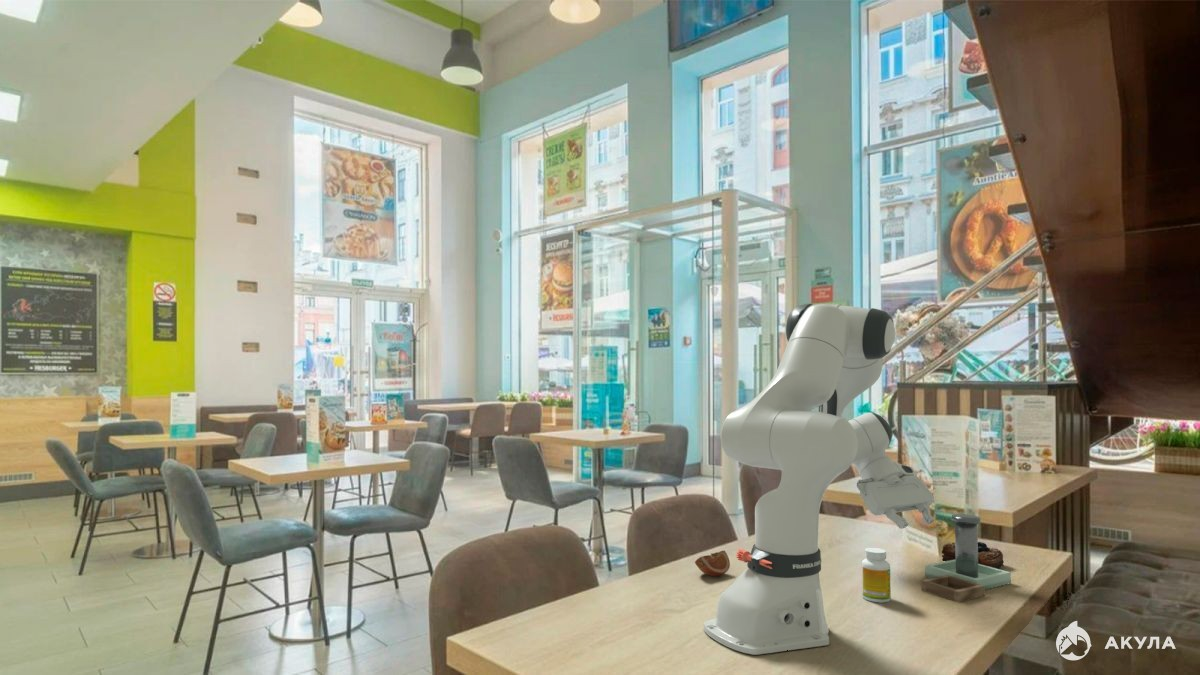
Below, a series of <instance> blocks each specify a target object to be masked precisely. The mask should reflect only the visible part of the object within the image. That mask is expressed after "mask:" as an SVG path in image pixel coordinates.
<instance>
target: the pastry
mask: <svg viewBox="0 0 1200 675" xmlns="http://www.w3.org/2000/svg"><path fill="white" fill-rule="evenodd" d="M1003 555H1004V554H1003V552H1002V551H1001V550H999V549H998V548H996V547H992V548H991V547H989V546H988V545H987V544H986V543H985V542H982V541H978V564H981V565H985V566H989V567H992V568H996V569H998V568H999V569H1000V567H1001V566H1002V565H1003V566H1004V556H1003ZM941 557H942V559H941V560H942V562H943V561H950V560H954V559H956V556H955V541H954V542H948V543H945V544H943V546H942V550H941ZM1003 566H1002V567H1003ZM1002 567H1001V568H1002Z"/></svg>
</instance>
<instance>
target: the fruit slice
mask: <svg viewBox="0 0 1200 675" xmlns="http://www.w3.org/2000/svg"><path fill="white" fill-rule="evenodd" d="M729 558H730V557H729V556H728V554H727V552H726V550H721V551H718V552H717V551H716V552H714V553H710V554H708V555H702V556H699V557H698V558H697V559H696V560H695V561H694V563H695V565H696V567H697V568H698V569H699V570H700V571H701V572H702V573H703V574H705V575H707V576H710V577H721V576H723V575H725V574H726V573H727V572H728V571H729V569H730V566H731V562H730V559H729Z"/></svg>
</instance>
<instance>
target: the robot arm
mask: <svg viewBox="0 0 1200 675" xmlns="http://www.w3.org/2000/svg"><path fill="white" fill-rule="evenodd" d="M785 336H786V340H787V345H786V347H785V350H784V352H783V355H782V357H781V360H780V363H779V364H778V367H777V370H776V371H775V374H774V375H773V377H772V378H771V380H770V381H769V383H768V384H767V385H766V386H765V387H764V389H762V390H761V391H760V393H758V395H756V396H755V397H754V398H753V399H752V400H751V401H749V402H748V403H746V404H745V405H743V407H740V408H739V409H735V410H734V411H732V412H730V413H729V414H728V415H727V417H725V419H724V421H723V423H722V426H721V428H720V436H719V437H720V444H721V447H722V449H723V451H724V453H725V455H726V457H728V458H729V459H731V460H732V461H735V462H737V463H740V464H742V465H743V464H744V465H746V466H750V467H753V468H754V467H755V468H762V469H770V470H778V471H779V470H780V471H781V477H780V482H779V484H778V486H777V487H776V488H774V489H772V490H770V491H767V492H766V493H764V494H763V495H762V496H761V497H760V498H758V501H756V504H755V506H754V544H753V546H752V548H751V551H748V550H745V549H743V548H739V549H737V552H736V558H737V560H738V561H740V562H743V563H747V565H746V566H747V568H745V569H744V571H743V572H742V573H741V574H740V575H739V576H737V578H736V579H735V580H734V581H733V582H732V583H731V584H730V585H729V586H728V587H727V588H726V589H725V590H724V591H723V592H722V593H720V596H719V597H718V598H719V599H718V602H717V608H716V609H717V611H716V617H715V618H711V619H708V620H706V621H704V622H703V630H704V632H705V634H706V635H707V636H709V637H710V638H712V639H713V640H715V641H716V642H717V643H719V644H721V645H722V646H725V647H727V648H730V649H732V650H734V651H737V652H740V653H743V654H747V655H748V654H749V655H753V656H755V655H756V656H757V655H758V656H759V655H763V654H772V653H778V652H779V653H780V652H786V651H787V650H788V651H794V650H800V649H801V650H802V649H808V648H816V647H823V646H824V647H825V646H829V645H830V638H829V632H830V630H829V626H828V623H827V619H826V616H825V608H824V601H823V594H822V593H823V592H822V588H821V580H820V572H821V571H822V556H821V555H822V553H821V552H822V551H821V549H820V548H819V525H820V524H819V523H820V522H819V520H820V511H821V510H820V508H821V504H822V500H823V498H824V495H825V493H826V491H827V490H828V488H829V486H830V485H831V483H832V482H833V481H835V479H836V478H837V477H839V476H840V475H841V474H843V473H844V472H845V471H847V470H848V469H849V468H850V467H851V466H853V467H854V468H855V469H856V471H857V472H858V476H859V477H860V479H858V480H857V482H856V488H857V490H858V491H859V494H860V497H861V499H862V500H863V502H864V505H865V506H866V508H867V509H868V511H869V512H870V513H871V514H873V516H877V517H878V516H883V515H885V516H886V517H887V519H889V520H890V521H892V522H893V523H894V524H896V526H897V527H898V528H899V530H900V529H902V530H903V529H906V528H907V527H908V525H909V523H908V522H907V521H906V519H905V518H904V517H903V518H902V517H901V516H900V515H899V514H897V513H902V512H908V511H917V510H918V511H917V512H919V513H921V514H922V518H921V520H922V521H923V522H924V524H925V525H931V524H933V523H934V522H935V518H934V517H933V516H932V515H931V511H930V510H931V509H930V506H931V505H932V504H933V503H934V502H935V497H934V495H933V493H932V492H931V490H930V489H929V488H928V487H927V485H926V484H925V483H924V481H923V480H922V479H921V478H920V477H918V476H917V475H916V473H917V472H916V470H915V469H914V468H913V467H912V466H910V465H907V464H906V465H905V464H902V463H900V462H897V461H893V459H892V458H891V457H890V456H889V455H888V454H887V453H886V450H887V449H889V446H890V445H891V443H892V439H893V434H894V432H893V429H892V428H891V425H889V423H888V421H887V420H886V419H885V418H884V417H883V416H882V415H881V414H878V413H876V412H872V411H869V412H865V413H863V414H861V415H858V416H856V417H853V418H851V419H850V420H848V419H846V418H845V417H843V416H842V415H843V413H844V411H845V409H846V408H847V406H848V405H850V403H851V402H852V401H854V399H856V398H858V397H859V396H860V395H861V394H862V393H864V392H866V391H867V390H868V389H870V388H871V387H872V386H874V384H875V383H876V382H877V381H878V380H879V378H880V376H881V375H882V371H883V365H884V362H883V358H884V357H886V356H887V355H888V354H889V353H890V352H891V350H892V347H893V345H894V343H895V338H896V329H895V325H894V319H893V317H892V316H891V315H890V314H889V313H888V312H887V311H884V310H881V309H878V308H873V307H872V308H864V307H859V306H851V305H843V304H837V303H836V304H833V303H831V304H829V303H818V304H812V303H807V304H804V303H803V304H801V305H797V306H796V307H795V308H793V309H792V310H791V311H790V313H789V314H788V317H787V320H786V325H785ZM816 408H818V411H817V410H816V411H814V410H815V409H816ZM812 410H813V411H812Z"/></svg>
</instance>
